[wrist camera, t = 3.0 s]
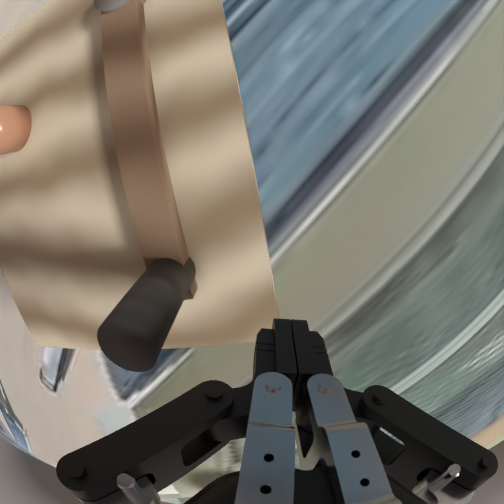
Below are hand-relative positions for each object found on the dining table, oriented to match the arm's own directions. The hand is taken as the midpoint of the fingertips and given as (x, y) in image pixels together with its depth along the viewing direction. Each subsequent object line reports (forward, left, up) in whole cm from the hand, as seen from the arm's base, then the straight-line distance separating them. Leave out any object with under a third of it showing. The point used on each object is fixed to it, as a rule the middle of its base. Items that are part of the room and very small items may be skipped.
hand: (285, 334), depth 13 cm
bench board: (-11, -13, -8) cm, 19 cm away
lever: (-11, -6, -6) cm, 14 cm away
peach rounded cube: (-15, -18, -6) cm, 25 cm away
